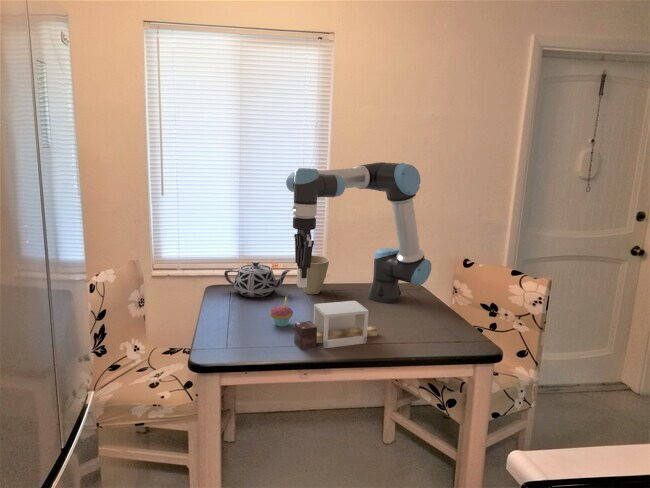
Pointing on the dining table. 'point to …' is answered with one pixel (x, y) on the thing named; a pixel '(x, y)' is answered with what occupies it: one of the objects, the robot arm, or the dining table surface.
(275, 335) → the dining table surface
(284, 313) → the cupcake
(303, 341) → the box
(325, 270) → the plant pot
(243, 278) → the teapot
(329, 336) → the rod
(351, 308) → the tunnel
